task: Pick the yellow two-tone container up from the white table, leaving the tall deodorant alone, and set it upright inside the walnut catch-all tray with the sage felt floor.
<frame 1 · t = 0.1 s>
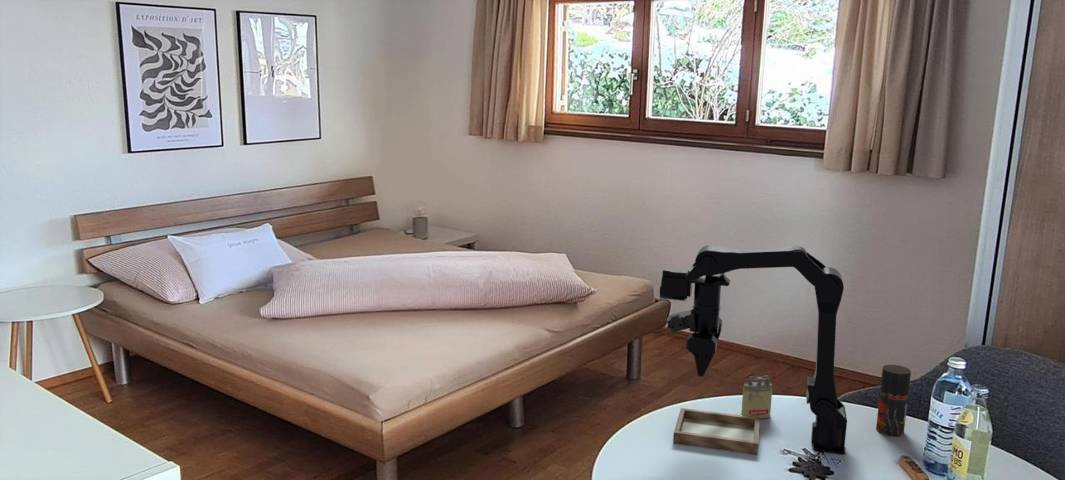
hand: (702, 369, 191), 15 cm above the table, fingers open, 9 cm apart
deodorant: (889, 431, 195), on the table
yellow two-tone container: (755, 416, 202), on the table
tray: (716, 435, 191), on the table
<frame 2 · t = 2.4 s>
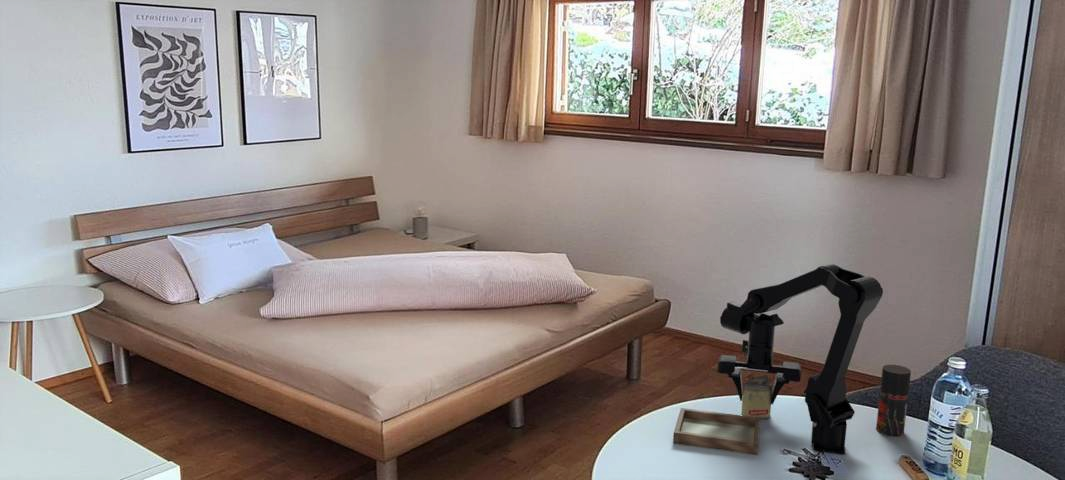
hand: (756, 402, 201), 4 cm above the table, fingers closed on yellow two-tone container, 7 cm apart
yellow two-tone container: (755, 416, 202), on the table, touching gripper
everything else where it was.
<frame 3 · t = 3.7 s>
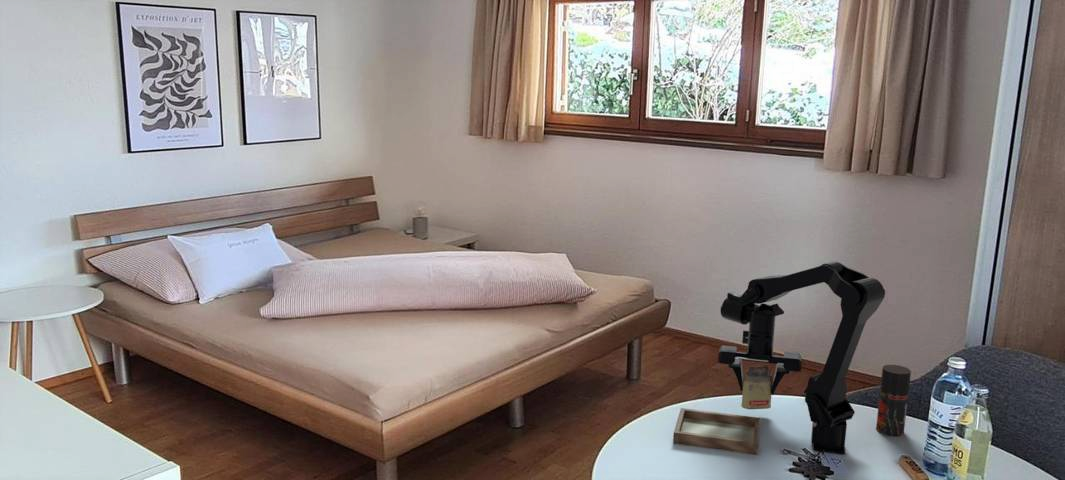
hand: (757, 392, 201), 6 cm above the table, fingers closed on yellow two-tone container, 7 cm apart
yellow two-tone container: (755, 407, 201), point 2 cm above the table, touching gripper
everything else where it was.
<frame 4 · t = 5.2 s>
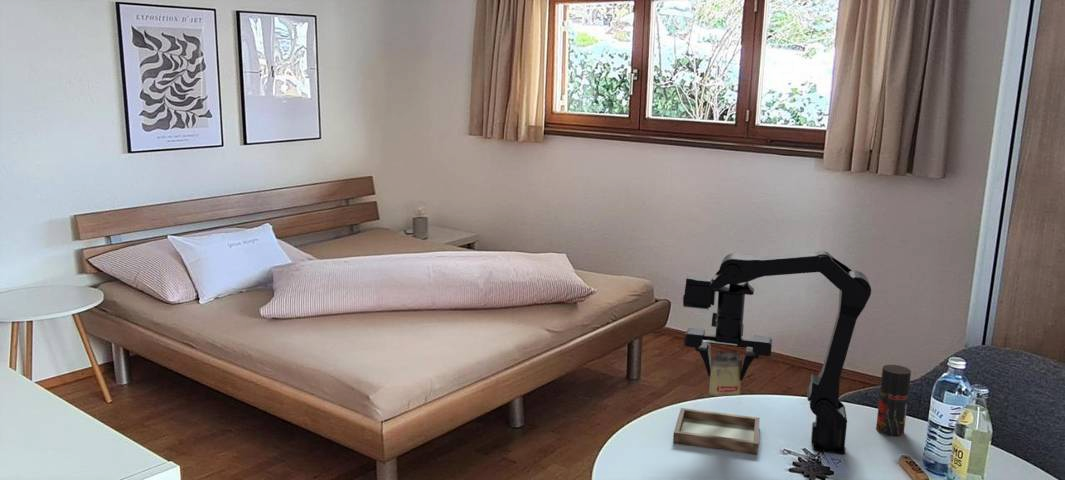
hand: (725, 378, 190), 13 cm above the table, fingers closed on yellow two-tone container, 7 cm apart
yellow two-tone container: (724, 393, 191), point 9 cm above the table, touching gripper
everything else where it was.
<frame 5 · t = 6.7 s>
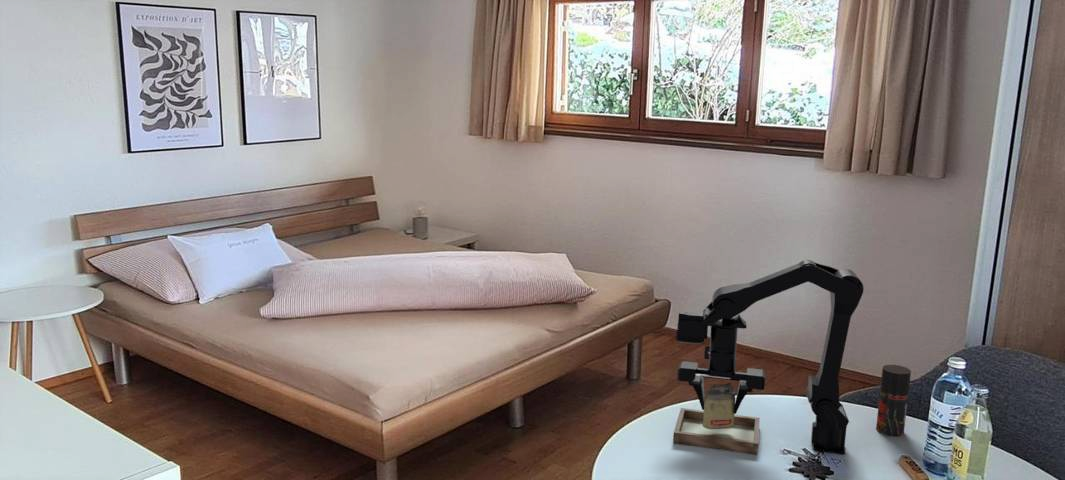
hand: (719, 411, 189), 6 cm above the table, fingers closed on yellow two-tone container, 7 cm apart
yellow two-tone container: (717, 426, 190), point 2 cm above the table, touching gripper
everything else where it was.
when the fingers open (6 cm above the table, at t = 7.7 s): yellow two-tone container drops 1 cm, resting on tray.
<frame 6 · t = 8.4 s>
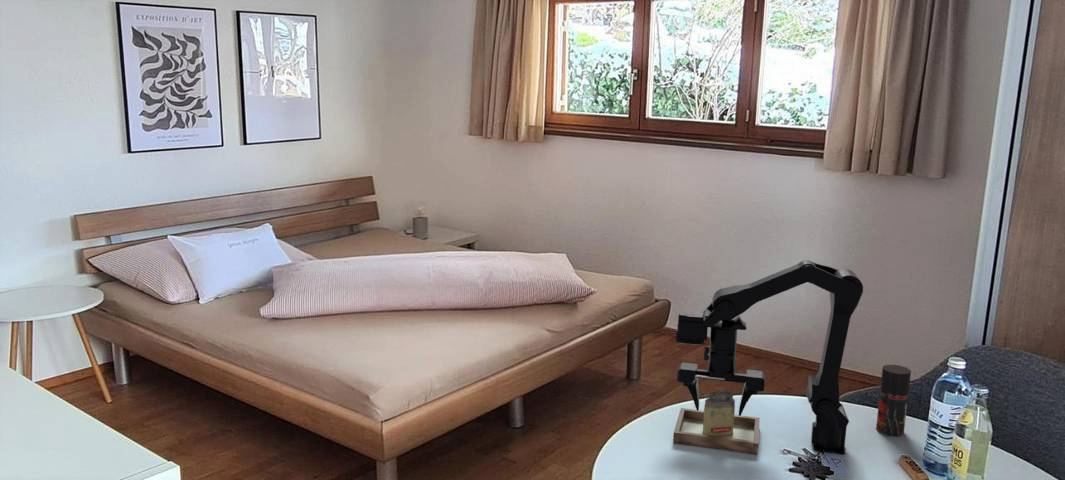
hand: (718, 412, 190), 6 cm above the table, fingers open, 9 cm apart
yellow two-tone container: (717, 434, 191), resting on tray
everything else where it was.
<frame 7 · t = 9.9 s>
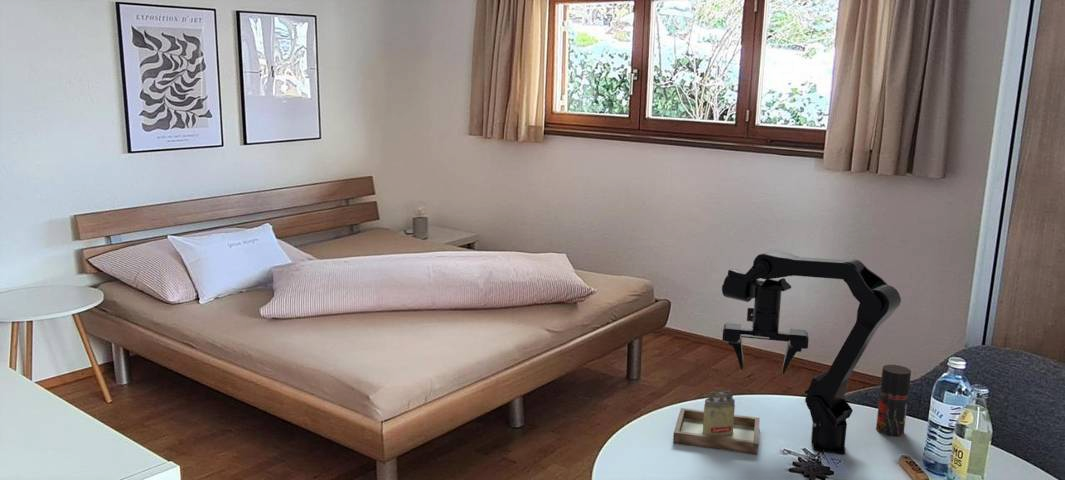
hand: (762, 371, 195), 13 cm above the table, fingers open, 9 cm apart
nothing on the table moved.
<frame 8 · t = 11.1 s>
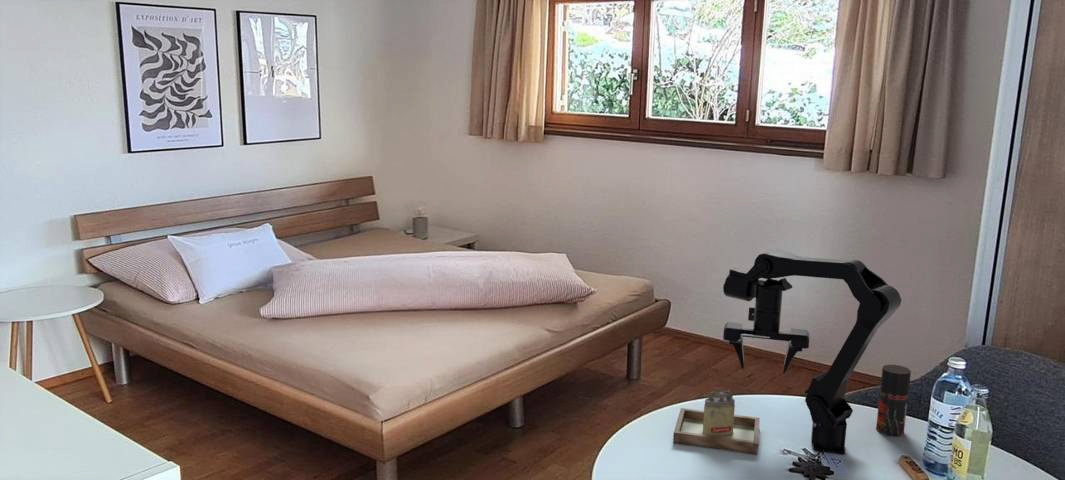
hand: (763, 370, 195), 13 cm above the table, fingers open, 9 cm apart
nothing on the table moved.
at the end: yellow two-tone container inside the target area on the tray (0.1 cm from its centre), point 0.4 cm above the tray's base; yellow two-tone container tilted 0°; the gripper is holding nothing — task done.
